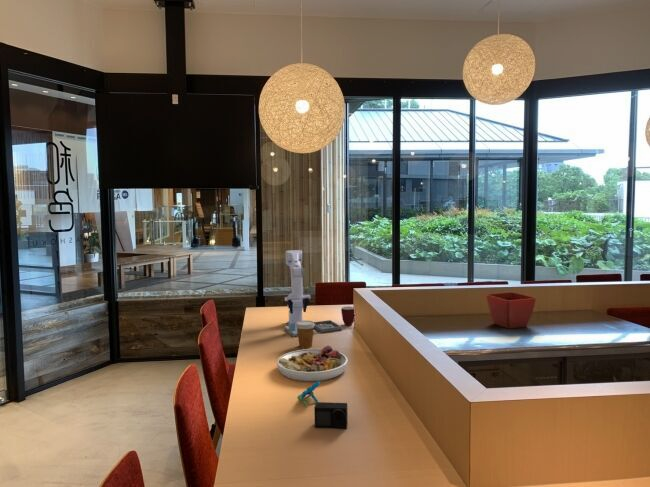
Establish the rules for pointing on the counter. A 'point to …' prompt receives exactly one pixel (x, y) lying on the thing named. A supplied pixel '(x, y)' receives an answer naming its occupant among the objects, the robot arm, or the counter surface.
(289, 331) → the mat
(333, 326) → the grey rectangular tray
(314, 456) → the counter surface
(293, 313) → the robot arm
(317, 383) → the blue green plastic toy
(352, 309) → the mug
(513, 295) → the plant pot
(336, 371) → the bowl
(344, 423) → the digital camera
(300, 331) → the disposable coffee cup
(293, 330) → the lid
